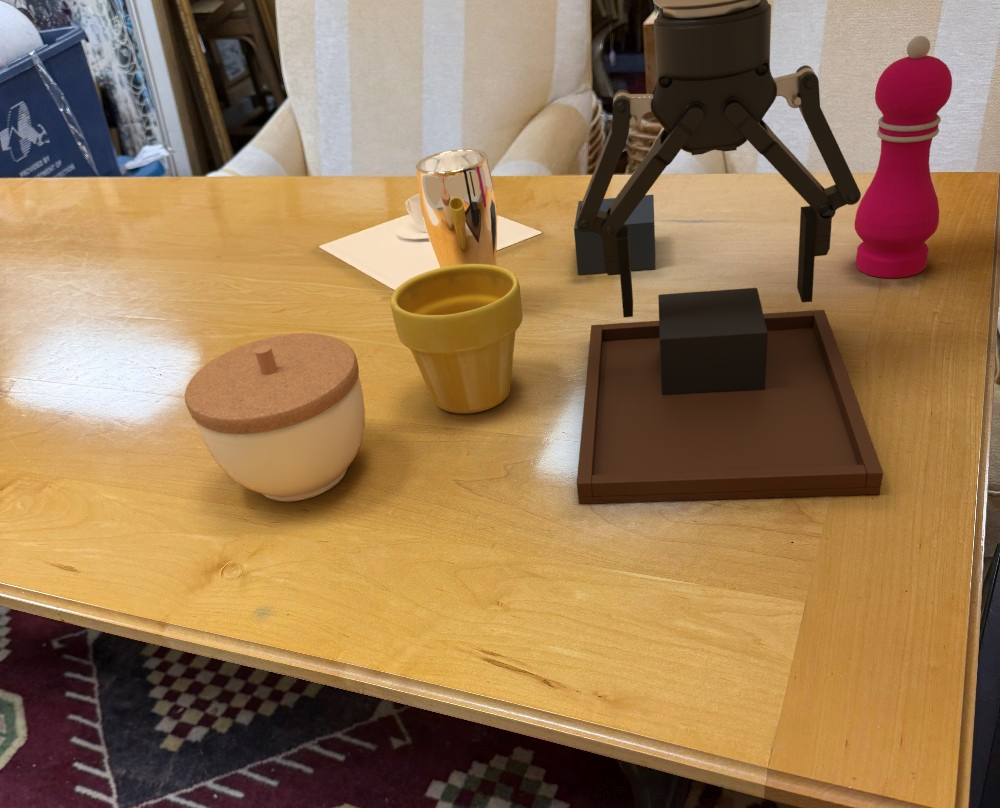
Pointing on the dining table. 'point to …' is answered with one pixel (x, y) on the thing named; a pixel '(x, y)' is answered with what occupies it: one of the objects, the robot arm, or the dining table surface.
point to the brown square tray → (723, 423)
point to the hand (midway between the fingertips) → (714, 302)
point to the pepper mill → (903, 166)
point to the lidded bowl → (281, 413)
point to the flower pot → (461, 332)
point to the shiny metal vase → (459, 207)
